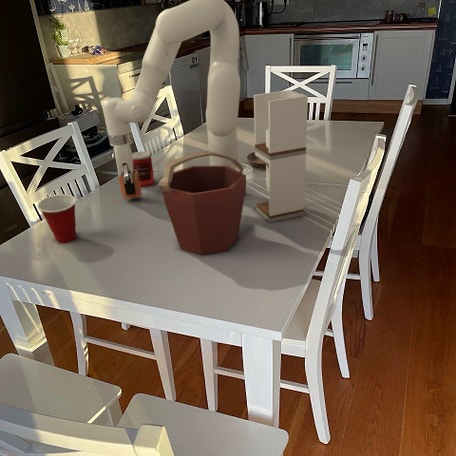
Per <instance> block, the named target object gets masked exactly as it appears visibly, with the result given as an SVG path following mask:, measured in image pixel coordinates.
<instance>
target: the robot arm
mask: <svg viewBox="0 0 456 456" xmlns="http://www.w3.org/2000/svg"><path fill="white" fill-rule="evenodd" d="M239 28H240V27H239V23H238V20H237V18H236V14H235V12H234V11H233V9H232V7H231V6H230V5H229V4H228V3H227V2H226V1H225V0H187V1H185V2H183V3H180V4H179V5H176V6H174V7H171V8H166V9H164V10H163V11H161V12H160V13H159V15H158V16H157V18H156V20H155V27H154V29H153V31H152V34H151V37H150V38H149V39H150V40H149V42H148V45H147V47H146V49H145V53H144V55H143V58H142V62H141V70H140V74H139V76H138V78H137V81H136V85H135V88H134V90H133V92H132V95H131V97H130V98H128V99H124V98H122V97H109V98H106V99H104V100H103V101H102V102H101V107H102V112H103V113H102V114H103V118H104V121H105V126H106V132H107V136H108V141H109V145H110V147H113V151H114V152H113V153H114V157H115V163H116V168H117V175H118V174H119V176H121V175H122V173H123V178H124V186H125V191H126V195H133V194H136V192H135V187H134V182H133V180H132V174H133V158H132V153H133V152H132V148H131V144H133V143H134V139H133V133H132V128H131V124H142V123H145V122H146V121H147V120H148V119H149V118H150V116H151V113H152V111H153V109H154V106H155V104H156V101H157V98H158V97H159V94H160V91H161V89H162V87H163V84H164V82H165V80H167V77H168V76H169V74H170V72H171V69H172V67H173V64H174V61H175V59H176V57H177V55H178V52H179V50H180V47H181V45H182V43H183V42H184V41H187V40H189V39H192V38H194V37H196V36H199V35H201V34H203V33H206V32H208V31H209V33H210V56H209V70H208V74H207V95H206V96H207V97H206V109H205V123H206V131H207V133H206V134H207V146H208V151H210V152H215V153H219V154H223V155H225V156H228V157H231V158H233V159H235V160H237V161H238V159H239V158H238V135H237V124H238V119H239V108H240V96H241V77H240V73H239V58H240V57H239V55H240V29H239ZM208 158H209V159H208V160H209V166H229V167H231V168H233V169H236V168H237V166H236V165H235V164H234V163H233V162H232V161H231V160H228V159H225V158H221V157H216V156H208ZM238 162H239V161H238ZM128 172H130V174H128ZM129 176H130V177H129Z"/></svg>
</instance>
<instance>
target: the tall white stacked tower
mask: <svg viewBox="0 0 456 456" xmlns="http://www.w3.org/2000/svg"><path fill="white" fill-rule="evenodd" d="M308 105H309V96H308V95H306V94H303V93H300V92H297V91H294V90H292V89H287V90H280V91H273V92H272V91H271V92H264V93H258V94H257V93H256V94H253V123H254V126H253V127H254V152H255V155H256V156H257V157H259V158H260V159H262V160H263V161H265V162H266V168H265V182H266V183H265V186H266V189H267V191H268V201H262V202H258V203H256V204H255V211H257V212H258V213H259V214H260V215H261V216H262V217H264V218H265V219H266V220H267V221H268V222H269V223H274V222H278V221H284V220H287V219H291V218H297V217H300V216H304V215H305V190H306V189H305V188H306V186H305V185H306V162H307V159H306V158H307V137H308V136H307V133H308V109H309V108H308V107H309V106H308Z"/></svg>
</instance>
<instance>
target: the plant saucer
mask: <svg viewBox="0 0 456 456" xmlns="http://www.w3.org/2000/svg"><path fill="white" fill-rule="evenodd" d="M246 160H247V161H248V163H249V164H250V165H251V166H252V167H255V168H258V169H266V162H265V161H263V160H262V159H260V158H259V157H257V156H256V155H255V151H253V152H251V153H249V154H247V155H246Z"/></svg>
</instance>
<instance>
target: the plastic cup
mask: <svg viewBox="0 0 456 456" xmlns="http://www.w3.org/2000/svg"><path fill="white" fill-rule="evenodd" d="M76 203H77V199H76V197H75V196H73V195H71V194H64V193H62V194H54V195H49V196H47V197H45V198H42V199H41V200H40V201H38V203H37V204H36V208H37V209H38V210H39V211H40V212H41V214H42V216H43V217H44V219H45V221H46V223H47V225H48V227H49V230H50V231H51V233H52V235H53V237H54V239H55V240H56V243H57V242H58V243H62V244H63V243H64V244H65V243H70V242H72V241H74V240H75V239H76V238H77V228H76V227H77V224H76Z"/></svg>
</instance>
